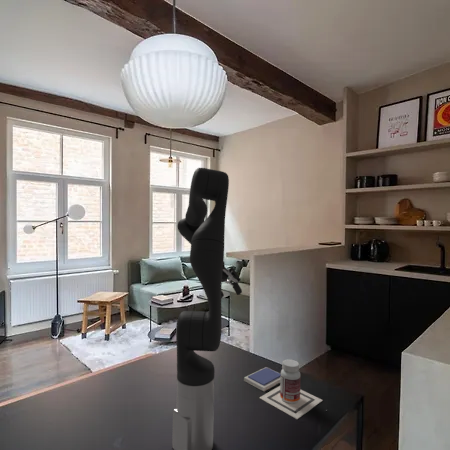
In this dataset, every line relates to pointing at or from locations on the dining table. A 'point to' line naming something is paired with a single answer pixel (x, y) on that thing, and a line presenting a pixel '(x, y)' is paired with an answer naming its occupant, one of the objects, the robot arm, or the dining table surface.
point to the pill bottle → (290, 381)
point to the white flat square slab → (291, 409)
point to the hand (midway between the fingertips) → (231, 295)
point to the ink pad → (263, 379)
